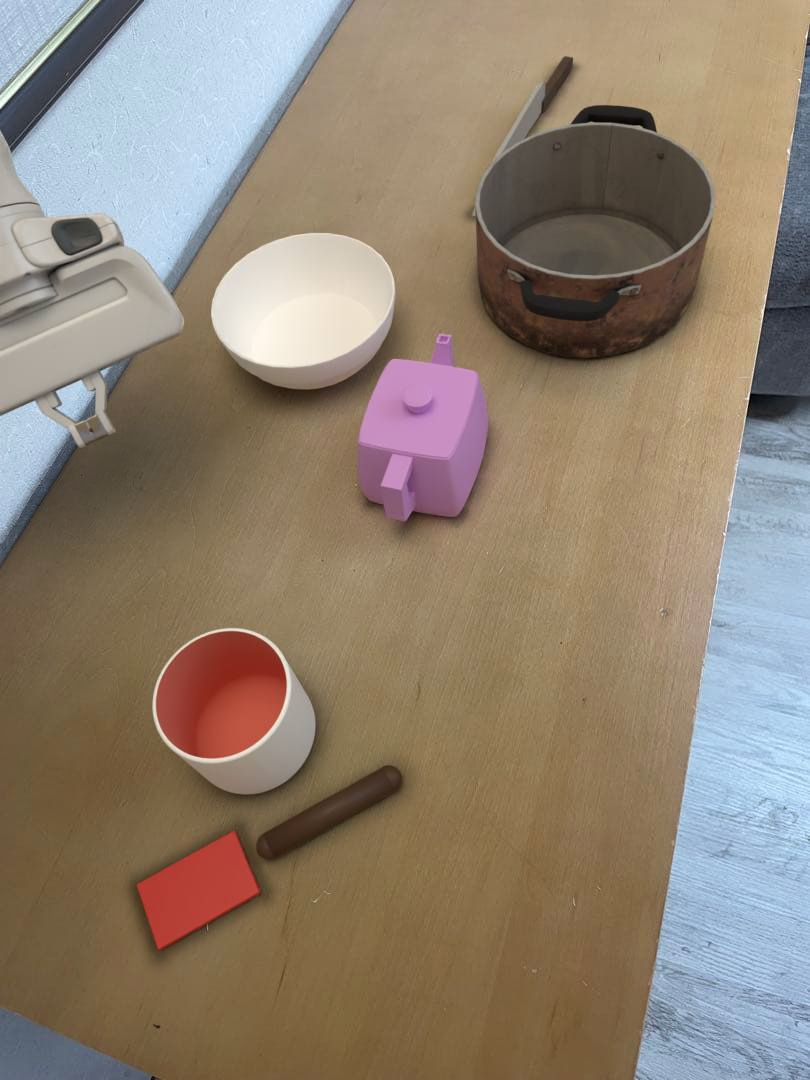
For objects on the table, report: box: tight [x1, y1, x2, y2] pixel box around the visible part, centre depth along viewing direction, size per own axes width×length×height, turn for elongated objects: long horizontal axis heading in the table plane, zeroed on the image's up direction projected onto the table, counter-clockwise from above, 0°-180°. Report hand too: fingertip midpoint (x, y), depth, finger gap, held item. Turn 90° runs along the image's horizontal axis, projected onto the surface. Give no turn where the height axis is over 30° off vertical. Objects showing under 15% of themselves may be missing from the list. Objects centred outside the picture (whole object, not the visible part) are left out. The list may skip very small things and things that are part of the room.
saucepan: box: [474, 104, 717, 359], centre depth 85 cm, size 30×22×11 cm
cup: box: [151, 627, 316, 795], centre depth 64 cm, size 10×10×10 cm
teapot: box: [357, 333, 489, 522], centre depth 75 cm, size 18×10×10 cm, turn 163°
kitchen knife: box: [471, 55, 574, 218], centre depth 101 cm, size 4×1×30 cm
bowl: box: [210, 232, 396, 391], centre depth 86 cm, size 18×18×7 cm
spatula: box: [136, 764, 403, 951], centre depth 63 cm, size 21×5×2 cm, turn 118°
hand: (98, 440), depth 66 cm, fingers closed
